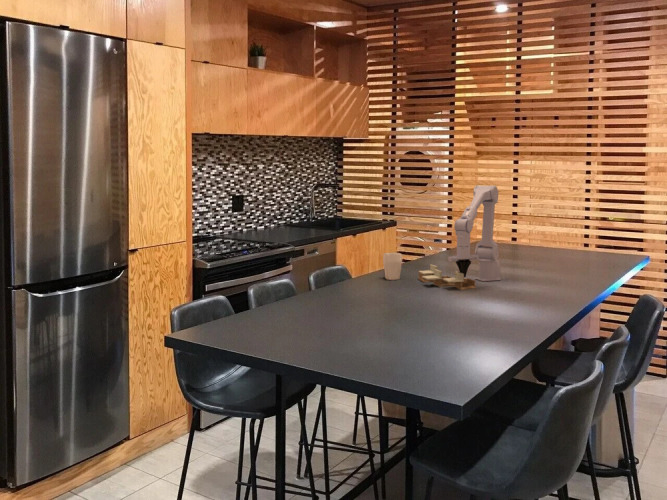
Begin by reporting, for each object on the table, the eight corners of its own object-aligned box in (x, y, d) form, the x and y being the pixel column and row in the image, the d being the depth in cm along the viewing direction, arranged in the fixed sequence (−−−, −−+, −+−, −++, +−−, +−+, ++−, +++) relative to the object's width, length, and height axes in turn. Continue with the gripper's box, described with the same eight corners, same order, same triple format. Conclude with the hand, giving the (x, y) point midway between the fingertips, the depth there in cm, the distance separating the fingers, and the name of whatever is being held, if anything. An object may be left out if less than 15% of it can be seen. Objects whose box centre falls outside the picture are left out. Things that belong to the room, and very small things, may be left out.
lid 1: (431, 271, 319) (431, 264, 319) (437, 273, 312) (437, 266, 312) (418, 272, 317) (418, 265, 317) (424, 274, 311) (424, 267, 310)
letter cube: (428, 279, 317) (428, 273, 317) (432, 280, 315) (432, 274, 314) (423, 280, 316) (423, 274, 316) (427, 281, 313) (427, 275, 313)
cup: (401, 280, 316) (400, 255, 314) (382, 280, 318) (381, 255, 316) (403, 277, 325) (402, 252, 323) (384, 276, 327) (384, 252, 325)
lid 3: (456, 278, 299) (457, 271, 298) (463, 281, 292) (463, 273, 292) (442, 279, 297) (442, 272, 296) (449, 282, 290) (449, 274, 290)
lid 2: (435, 276, 306) (435, 269, 305) (442, 278, 299) (442, 271, 299) (421, 277, 304) (421, 269, 303) (427, 279, 297) (427, 272, 297)
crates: (447, 277, 321) (447, 270, 321) (475, 288, 294) (475, 280, 293) (418, 279, 318) (418, 272, 317) (443, 290, 290) (443, 283, 290)
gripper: (472, 244, 300) (472, 274, 302) (444, 246, 295) (444, 276, 296) (481, 245, 293) (481, 276, 295) (452, 248, 288) (452, 279, 290)
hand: (463, 276), depth 295 cm, fingers closed
